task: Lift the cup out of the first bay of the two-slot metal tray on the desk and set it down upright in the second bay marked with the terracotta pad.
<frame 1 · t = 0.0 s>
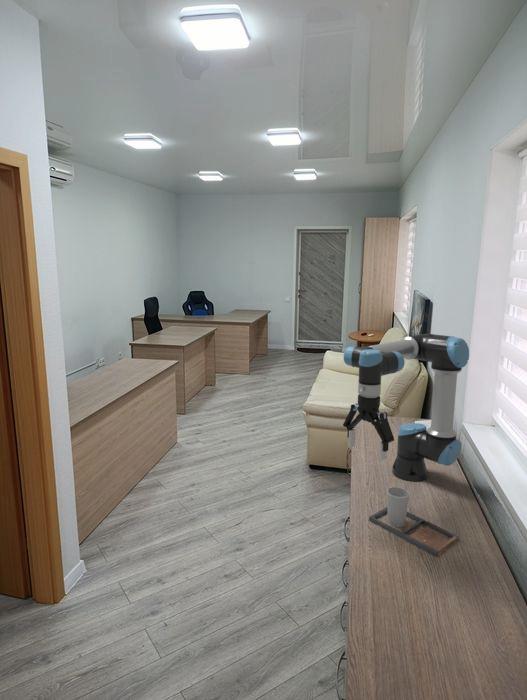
hand: (366, 453, 157), 28 cm above the table, fingers open, 13 cm apart
cup: (396, 522, 164), resting in two-slot metal tray
two-slot metal tray: (411, 529, 159), on the table
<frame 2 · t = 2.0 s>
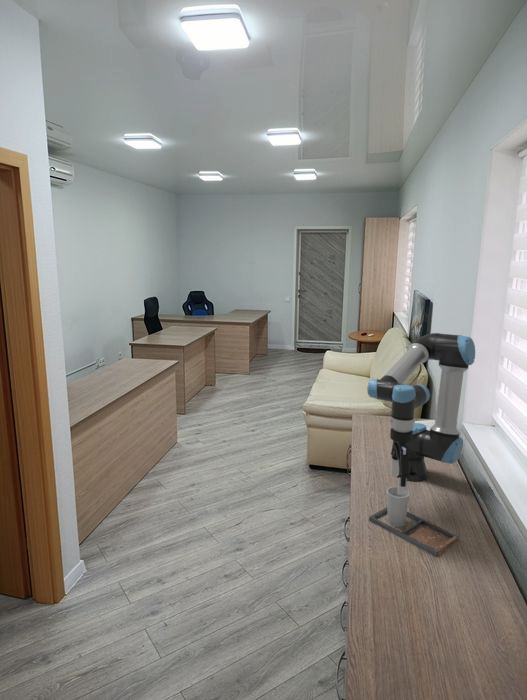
hand: (398, 484, 162), 15 cm above the table, fingers open, 13 cm apart
nothing on the table moved.
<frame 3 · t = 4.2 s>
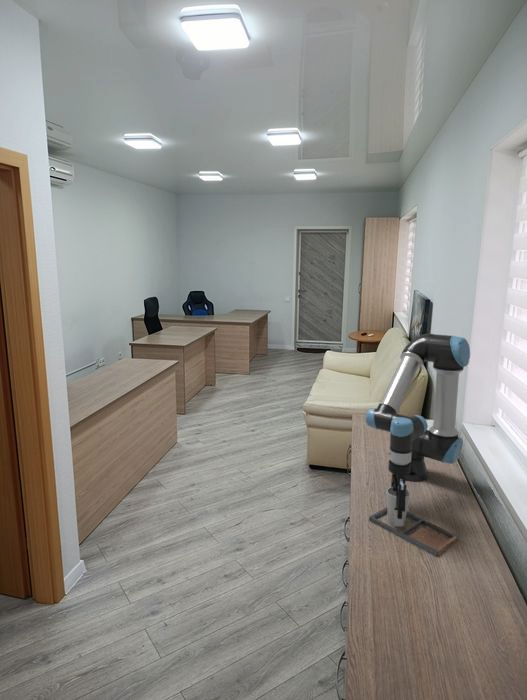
hand: (396, 519, 164), 1 cm above the table, fingers closed on cup, 7 cm apart
cup: (396, 522, 164), resting in two-slot metal tray, touching gripper
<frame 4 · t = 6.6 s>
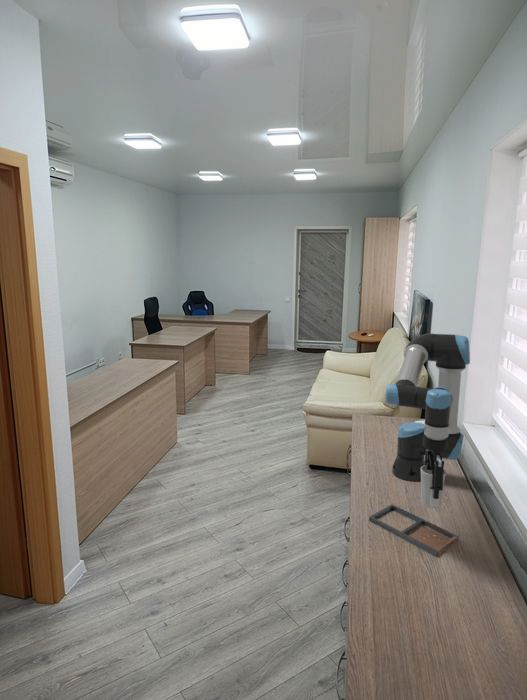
hand: (431, 499, 152), 14 cm above the table, fingers closed on cup, 7 cm apart
cup: (430, 503, 152), point 13 cm above the table, touching gripper
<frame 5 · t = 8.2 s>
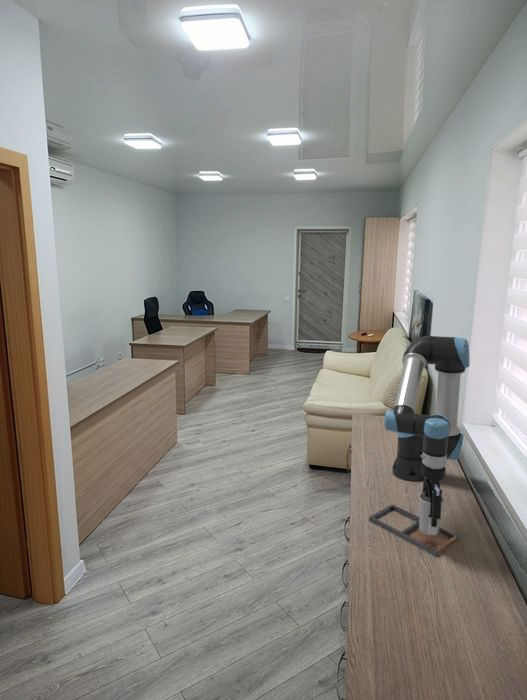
hand: (429, 526, 154), 4 cm above the table, fingers closed on cup, 7 cm apart
cup: (428, 530, 154), point 3 cm above the table, touching gripper
when the fingers open (3 cm above the table, at t = 9.3 s): cup drops 2 cm, resting on two-slot metal tray.
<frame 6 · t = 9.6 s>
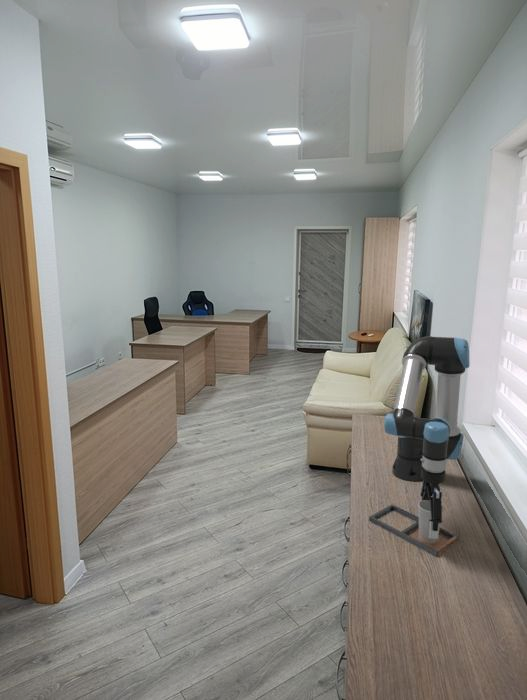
hand: (429, 528, 154), 4 cm above the table, fingers open, 11 cm apart
cup: (428, 538, 155), resting on two-slot metal tray
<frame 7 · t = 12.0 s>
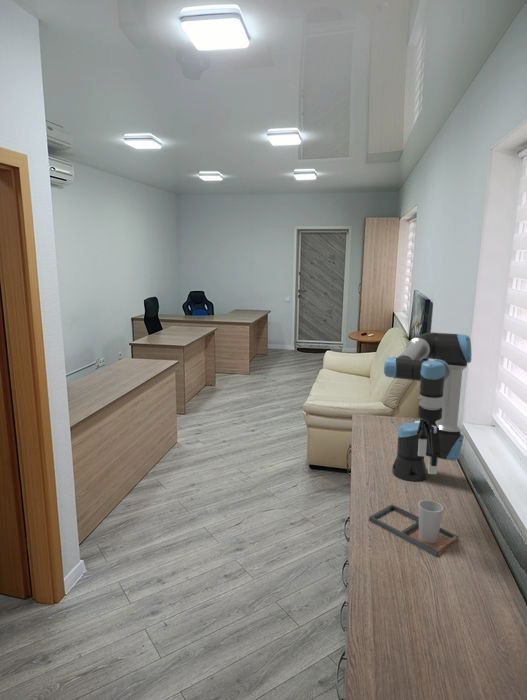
hand: (426, 464, 156), 24 cm above the table, fingers open, 13 cm apart
nothing on the table moved.
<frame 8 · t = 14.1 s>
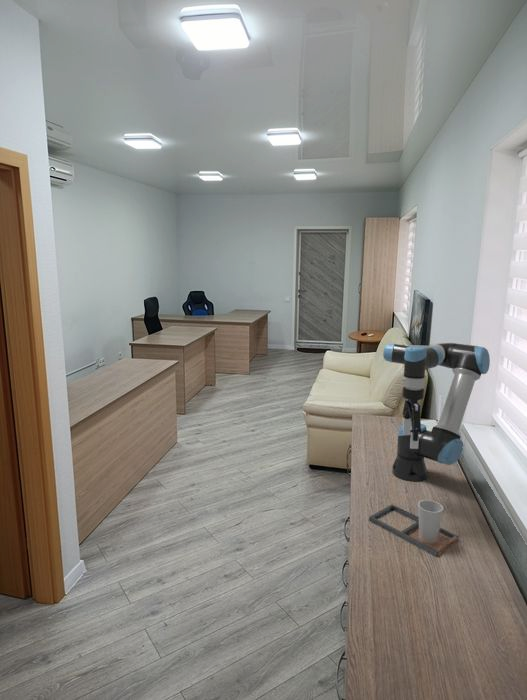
hand: (410, 441, 171), 27 cm above the table, fingers open, 13 cm apart
nothing on the table moved.
at the end: cup inside the target area on the two-slot metal tray (0.1 cm from its centre), point 0.0 cm above the two-slot metal tray's base; cup tilted 0°; the gripper is holding nothing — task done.
